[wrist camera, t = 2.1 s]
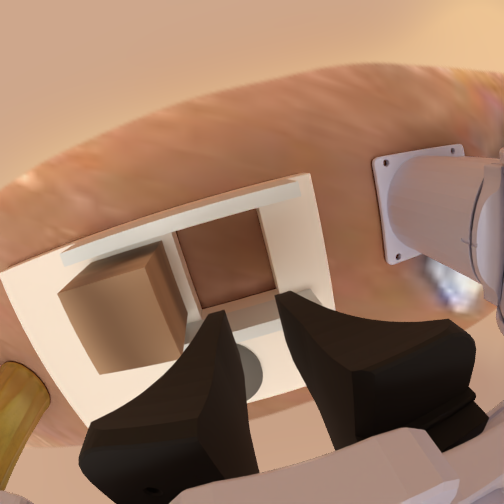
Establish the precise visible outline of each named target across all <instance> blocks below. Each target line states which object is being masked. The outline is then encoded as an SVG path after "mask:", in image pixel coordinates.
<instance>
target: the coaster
mask: <svg viewBox="0 0 504 504" xmlns="http://www.w3.org/2000/svg"><path fill="white" fill-rule="evenodd" d="M236 345H237V347H238V350H239V353H240V357H241V362H242V366H243V371H244V376H245V387H246V399H247V400H249V399H250V398H252V397H253V396H254V395H255V394H256V393H257V391H258V390H259V389H260V386H261V384H262V381H263V371H262V367H261V364H260V361H259V359H258V358H257V356H256V355H255V354H254V353H253V352H252V351H251V350H249V349H248V348H246V347H244V346H242V345H240V344H237V343H236Z"/></svg>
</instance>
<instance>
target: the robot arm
mask: <svg viewBox="0 0 504 504" xmlns="http://www.w3.org/2000/svg"><path fill="white" fill-rule="evenodd" d="M451 150H452V153H451ZM499 154H500V159H497V158H485V157H472V156H465V155H464V149H463V146H462V145H461V144H452V145H446V146H439V147H432V148H426V149H420V150H414V151H408V152H402V153H396V154H391V155H385V156H380V157H376V158H374V159H373V161H372V167H373V173H374V178H375V184H376V190H377V196H378V202H379V209H380V216H381V223H382V231H383V240H384V249H385V259H386V262H387V263H388V264H390V265H394V264H397V263H399V262H402V261H405V260H407V259H410V258H413V257H416V256H418V255H421V254H424V255H426V256H428V257H430V258H432V259H434V260H436V261H438V262H440V263H442V264H444V265H446V266H448V267H450V268H452V269H454V270H456V271H457V272H459V273H461V274H463V275H465V276H467V277H469V278H471V279H473V280H474V281H476V282H478V283H480V284H482V285H483V288H484V299H486V300H487V301H489V302H491V303H492V304H494V305H496V306H497V312H496V320H497V324H498V327H499V329H500V331H501V333H502V334H503V335H504V147H503V148H501V149H500V151H499ZM384 160H386V166H384V164H383V161H384ZM397 254H399V255H398V258H396V255H397ZM274 296H275V300H276V304H277V308H278V312H279V316H280V320H281V324H282V328H283V332H284V337H285V341H286V343H287V346H288V349H289V351H290V354H291V357H292V359H293V362H294V364H295V365H296V367H297V369H298V371H299V373H300V375H301V377H302V378H303V380H304V382H305V384H306V386H307V388H308V389H309V391H310V393H311V395H312V397H313V399H314V400H315V402H316V404H317V406H318V409H319V410H320V413H321V415H322V418H323V420H324V423H325V425H326V428H327V430H328V433H329V435H330V438H331V441H332V443H333V446H334V449H335V451H334V452H331V453H328V454H325V455H322V456H319V457H316V458H313V459H310V460H307V461H303V462H301V463H297V464H293V465H290V466H286V467H282V468H279V469H275V470H271V471H267V472H262V473H259V469H258V465H257V461H256V456H255V452H254V448H253V443H252V439H251V434H250V429H249V421H248V410H247V399H246V387H245V376H244V371H243V366H242V362H241V357H240V353H239V350H238V347H237V345H236V342H235V339H234V336H233V333H232V330H231V327H230V324H229V321H228V318H227V315H226V312H225V310H221V311H217V312H214V313H210V314H208V315H207V317H206V319H205V320H204V322H203V324H202V325H201V327H200V329H199V330H198V332H197V333H196V335H195V337H194V338H193V340H192V341H191V342H190V344H189V345H188V347H187V348H186V349H185V351H184V352H183V353H182V355H181V356H180V357H179V358H178V360H177V361H176V362H175V363H174V364H173V365H172V366H171V367H170V368H169V369H168V370H167V372H166V373H165V374H164V375H162V376H161V377H160V378H159V379H158V380H157V381H156V382H154V383H153V384H152V385H151V386H150V387H148V388H147V389H146V390H145V391H144V392H142V393H141V394H139V395H138V396H137V397H135V398H134V399H132V400H131V401H129V402H128V403H126V404H125V405H123V406H121V407H120V408H118V409H116V410H114V411H112V412H110V413H108V414H106V415H104V416H102V417H100V418H98V419H96V420H94V421H92V422H91V423H90V426H89V429H88V431H87V434H86V437H85V440H84V443H83V446H82V449H81V452H80V455H79V466H80V468H81V470H82V472H83V474H84V475H85V476H86V477H87V478H88V480H89V481H90V482H91V483H92V484H93V485H95V486H96V487H97V488H98V489H99V490H100V491H102V492H103V493H104V494H105V495H106V496H107V497H108V498H110V499H111V500H112V501H113V502H115V503H116V504H504V400H503V401H502V402H500V403H499V404H498V405H497V406H496V407H494V408H493V409H492V410H491V411H489V412H488V413H487V414H485V412H484V411H483V410H482V409H481V408H480V407H479V406H478V405H477V404H476V403H475V402H474V400H475V398H476V394H475V393H474V392H473V391H472V390H471V389H470V388H469V387H468V386H469V383H470V379H471V375H472V371H473V367H474V363H475V355H476V346H475V341H474V339H473V338H472V337H471V336H470V335H469V334H468V333H467V332H466V331H464V330H463V329H462V328H460V327H459V326H458V325H456V324H455V323H454V322H452V321H451V320H449V319H443V320H433V321H424V322H388V321H379V320H371V319H365V318H360V317H355V316H351V315H347V314H344V313H340V312H337V311H335V310H332V309H329V308H326V307H324V306H321V305H319V304H317V303H315V302H312V301H310V300H308V299H306V298H304V297H302V296H300V295H298V294H297V293H295V292H293V291H287V292H284V293H280V294H277V295H274ZM0 504H33V503H32V502H30V501H29V500H28V499H26V498H24V497H22V496H19V495H17V494H13V493H10V492H6V491H3V490H1V491H0Z"/></svg>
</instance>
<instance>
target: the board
mask: <svg viewBox="0 0 504 504" xmlns="http://www.w3.org/2000/svg"><path fill="white" fill-rule="evenodd" d="M284 179H290V180H295V181H298V183H299V188H300V192H301V196H300V197H297V198H293V199H289V200H285V201H281V202H277V203H274V204H270V205H266V206H262V207H259V208H256V210H257V214H258V218H259V222H260V226H261V230H262V234H263V238H264V242H265V246H266V250H267V254H268V258H269V262H270V266H271V270H272V274H273V278H274V282H275V286H276V289H273V290H270V291H266V292H263V293H259V294H256V295H252V296H249V297H245V298H242V299H238V300H235V301H231V302H228V303H224V304H220V305H217V306H213V307H209V308H206V309H202V308H201V305H200V302H199V300H198V297H197V294H196V291H195V288H194V285H193V282H192V280H191V277H190V274H189V271H188V268H187V265H186V262H185V259H184V256H183V253H182V250H181V247H180V244H179V241H178V237H177V234H176V231H174V232H171V233H168V234H165V235H161V236H158V237H155V238H152V239H148V240H145V241H142V242H139V243H136V244H132V245H129V246H126V247H123V248H120V249H117V250H114V251H111V252H108V253H105V254H102V255H99V256H96V257H93V258H90V259H87V260H84V261H81V262H78V263H75V264H72V265H69V266H66V267H64V265H63V262H62V259H61V257H60V253H62V252H63V251H65V250H66V249H68V248H69V247H71V246H72V245H74V244H75V243H77V242H80V241H82V240H85V239H88V238H91V237H94V236H96V235H99V234H102V233H105V232H108V231H111V230H114V229H116V228H119V227H122V226H125V225H128V224H131V223H134V222H137V221H140V220H143V219H147V218H150V217H153V216H156V215H159V214H162V213H165V212H169V211H172V210H175V209H178V208H182V207H185V206H188V205H192V204H195V203H199V202H202V201H205V200H209V199H212V198H216V197H219V196H223V195H227V194H230V193H234V192H238V191H241V190H245V189H249V188H252V187H256V186H260V185H264V184H268V183H272V182H276V181H280V180H284ZM161 240H162V242H163V245H164V248H165V251H166V254H167V257H168V260H169V263H170V266H171V269H172V272H173V274H174V277H175V280H176V283H177V286H178V288H179V291H180V294H181V296H182V299H183V302H184V304H185V307H186V310H187V312H188V317H187V323H191V322H195V321H199V320H203V319H206V317H207V315H208V314H210V313H214V312H217V311H221V310H225V312H226V313H229V312H232V311H236V310H240V309H243V308H247V307H250V306H254V305H257V304H261V303H264V302H267V301H271V300H274V299H275V296H274V295H277V294H280V293H284V292H287V291H293V292H295V293H297V292H301V291H304V290H307V289H311V290H312V292H313V293H314V294H315V296H316V297H317V298H318V299H319V301H320V302H321V303H322V305H323V306H324V307H326V308H329V309H332V310H335V304H334V297H333V291H332V284H331V278H330V272H329V266H328V260H327V255H326V249H325V244H324V238H323V233H322V228H321V223H320V218H319V213H318V208H317V203H316V198H315V194H314V189H313V184H312V180H311V175H310V173H299V174H294V175H290V176H286V177H282V178H278V179H274V180H270V181H266V182H262V183H258V184H254V185H251V186H247V187H243V188H239V189H236V190H232V191H228V192H225V193H221V194H218V195H214V196H211V197H207V198H204V199H200V200H197V201H193V202H190V203H187V204H183V205H180V206H177V207H174V208H170V209H167V210H164V211H161V212H158V213H154V214H151V215H148V216H145V217H142V218H139V219H136V220H133V221H130V222H127V223H124V224H121V225H118V226H115V227H112V228H109V229H107V230H104V231H101V232H98V233H95V234H93V235H90V236H87V237H84V238H82V239H79V240H76V241H73V242H71V243H68V244H65V245H63V246H60V247H58V248H55V249H52V250H50V251H47V252H45V253H42V254H40V255H37V256H35V257H32V258H30V259H27V260H25V261H23V262H20V263H18V264H15V265H13V266H11V267H9V268H7V269H5V270H4V271H2V272H1V273H0V278H1V281H2V283H3V286H4V288H5V290H6V293H7V295H8V297H9V300H10V302H11V304H12V306H13V308H14V310H15V313H16V315H17V317H18V319H19V321H20V323H21V325H22V327H23V329H24V331H25V332H26V334H27V336H28V338H29V340H30V342H31V344H32V345H33V347H34V349H35V351H36V352H37V354H38V356H39V358H40V359H41V361H42V363H43V364H44V366H45V368H46V369H47V371H48V372H49V374H50V376H51V377H52V379H53V380H54V382H55V383H56V385H57V386H58V388H59V389H60V391H61V392H62V394H63V395H64V396H65V398H66V399H67V401H68V402H69V403H70V405H71V406H72V408H73V409H74V410H75V412H76V413H77V414H78V416H79V417H80V418H81V420H82V421H83V422H84V423H85V425H86V426H87V427H88V428H89V426H90V423H91V422H92V421H94V420H96V419H98V418H100V417H102V416H104V415H106V414H108V413H110V412H112V411H114V410H116V409H118V408H120V407H121V406H123V405H125V404H126V403H128V402H129V401H131V400H132V399H134V398H135V397H137V396H138V395H139V394H141V393H142V392H144V391H145V390H146V389H147V388H148V387H150V386H151V385H152V384H153V383H154V382H156V381H157V380H158V379H159V378H160V377H161V376H162V375H164V374H165V373H166V372H167V370H168V369H169V368H170V367H171V366H172V365H173V364H174V363H175V362H176V361H177V360H174V361H170V362H165V363H160V364H156V365H151V366H146V367H141V368H136V369H130V370H125V371H120V372H114V373H108V374H102V375H99V373H98V372H97V370H96V368H95V367H94V365H93V363H92V362H91V360H90V358H89V356H88V355H87V353H86V351H85V349H84V347H83V346H82V344H81V342H80V340H79V338H78V336H77V334H76V332H75V330H74V328H73V326H72V324H71V322H70V320H69V318H68V316H67V314H66V312H65V310H64V308H63V306H62V304H61V301H60V299H59V297H58V295H57V293H59V292H60V291H61V290H62V289H63V288H64V287H65V286H66V285H67V284H68V283H69V282H70V281H71V280H72V279H73V278H74V277H76V276H77V275H78V274H79V273H80V272H81V271H82V270H83V269H84V268H85V267H86V266H88V265H89V264H90V263H91V262H94V261H97V260H100V259H103V258H106V257H110V256H113V255H116V254H119V253H122V252H125V251H128V250H131V249H135V248H138V247H141V246H144V245H147V244H151V243H154V242H157V241H161ZM237 344H240V345H242V346H244V347H246V348H248V349H249V350H251V351H252V352H253V353H254V354H255V355H256V356H257V358H258V359H259V361H260V364H261V367H262V371H263V381H262V384H261V386H260V389H259V390H258V391H257V393H256V394H255V395H254V396H253V397H252V398H250V399H249V400H247V403H250V402H253V401H257V400H261V399H265V398H268V397H272V396H275V395H279V394H282V393H286V392H289V391H292V390H295V389H298V388H302V387H305V386H306V384H305V382H304V380H303V378H302V377H301V375H300V373H299V371H298V369H297V367H296V365H295V364H294V362H293V359H292V357H291V354H290V351H289V349H288V346H287V343H286V341H285V337H284V332H283V330H280V331H277V332H274V333H270V334H267V335H263V336H260V337H257V338H253V339H249V340H246V341H242V342H239V343H237Z"/></svg>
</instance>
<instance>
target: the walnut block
mask: <svg viewBox="0 0 504 504" xmlns="http://www.w3.org/2000/svg"><path fill="white" fill-rule="evenodd" d="M57 295H58V297H59V299H60V301H61V304H62V306H63V308H64V310H65V312H66V314H67V316H68V318H69V320H70V322H71V324H72V326H73V328H74V330H75V332H76V334H77V336H78V338H79V340H80V342H81V344H82V346H83V347H84V349H85V351H86V353H87V355H88V356H89V358H90V360H91V362H92V363H93V365H94V367H95V368H96V370H97V372H98V373H99V375H102V374H108V373H114V372H120V371H125V370H130V369H136V368H141V367H146V366H151V365H156V364H160V363H165V362H170V361H174V360H178V358H179V357H180V356H181V355H182V353H183V349H184V341H185V332H186V324H187V317H188V312H187V310H186V307H185V304H184V302H183V299H182V296H181V294H180V291H179V288H178V286H177V283H176V280H175V277H174V274H173V272H172V269H171V266H170V263H169V260H168V257H167V254H166V251H165V248H164V245H163V242H162V240H161V241H157V242H154V243H151V244H147V245H144V246H141V247H138V248H135V249H131V250H128V251H125V252H122V253H119V254H116V255H113V256H110V257H106V258H103V259H100V260H97V261H94V262H91V263H90V264H89V265H88V266H86V267H85V268H84V269H83V270H82V271H81V272H80V273H79V274H78V275H77V276H76V277H74V278H73V279H72V280H71V281H70V282H69V283H68V284H67V285H66V286H65V287H64V288H63V289H62V290H61V291H60V292H59V293H57Z"/></svg>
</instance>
